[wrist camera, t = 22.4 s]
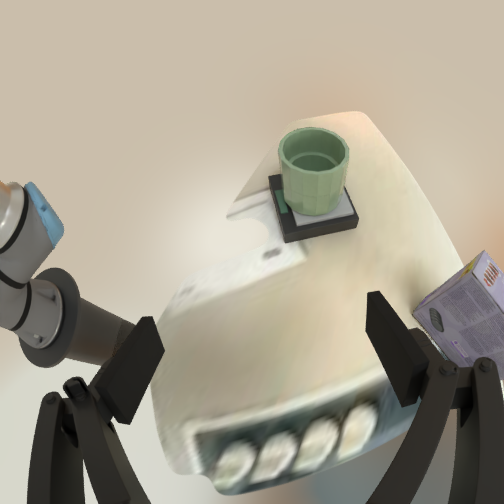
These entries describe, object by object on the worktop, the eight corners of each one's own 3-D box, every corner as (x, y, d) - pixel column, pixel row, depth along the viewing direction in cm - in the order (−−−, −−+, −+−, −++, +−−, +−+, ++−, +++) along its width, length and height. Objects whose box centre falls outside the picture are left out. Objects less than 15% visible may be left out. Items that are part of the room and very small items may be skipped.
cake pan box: (487, 368, 31) (555, 349, 15) (472, 390, 30) (542, 381, 14) (426, 294, 39) (482, 245, 24) (409, 314, 38) (465, 272, 23)
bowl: (278, 213, 46) (272, 170, 36) (287, 168, 50) (284, 124, 40) (339, 221, 43) (348, 179, 34) (342, 175, 47) (349, 131, 38)
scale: (285, 243, 47) (284, 232, 44) (269, 186, 53) (267, 173, 50) (356, 228, 47) (360, 216, 43) (332, 174, 53) (334, 161, 49)
